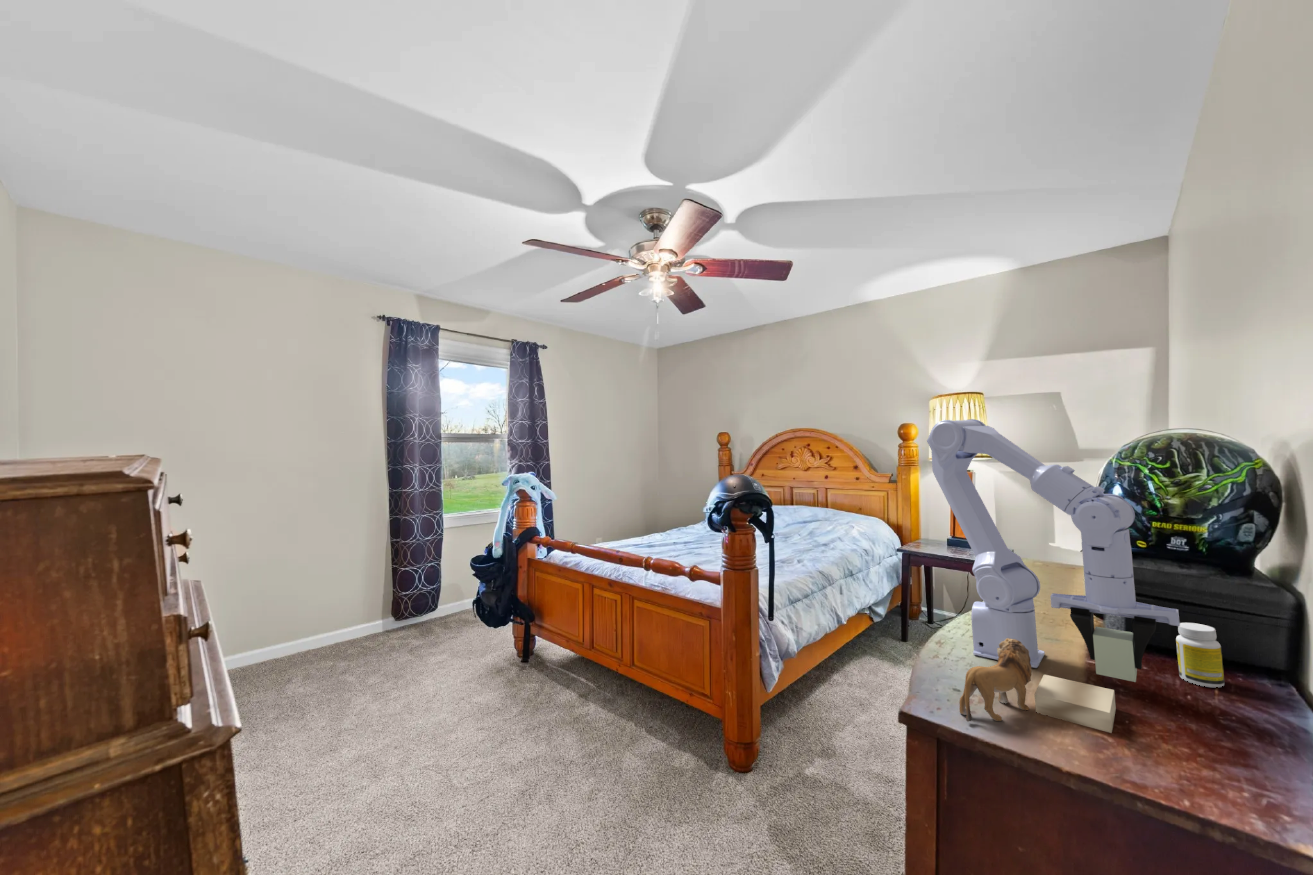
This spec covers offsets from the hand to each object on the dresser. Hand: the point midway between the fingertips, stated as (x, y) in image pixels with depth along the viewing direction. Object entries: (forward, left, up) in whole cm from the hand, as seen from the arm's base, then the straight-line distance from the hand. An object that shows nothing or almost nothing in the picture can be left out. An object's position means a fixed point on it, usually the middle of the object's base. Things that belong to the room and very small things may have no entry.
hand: (1115, 662), depth 76 cm
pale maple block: (-4, -12, -4) cm, 13 cm away
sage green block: (0, 0, -2) cm, 2 cm away
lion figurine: (-12, -18, -4) cm, 22 cm away
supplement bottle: (+9, +10, -4) cm, 14 cm away
